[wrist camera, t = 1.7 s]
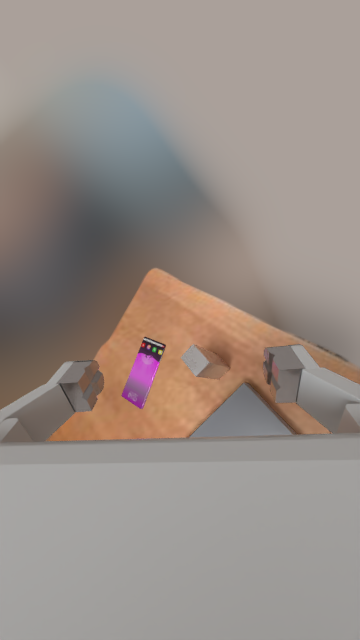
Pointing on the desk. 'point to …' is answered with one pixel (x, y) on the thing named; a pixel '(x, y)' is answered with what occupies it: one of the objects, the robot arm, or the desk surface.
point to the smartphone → (143, 372)
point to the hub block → (244, 417)
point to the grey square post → (204, 363)
